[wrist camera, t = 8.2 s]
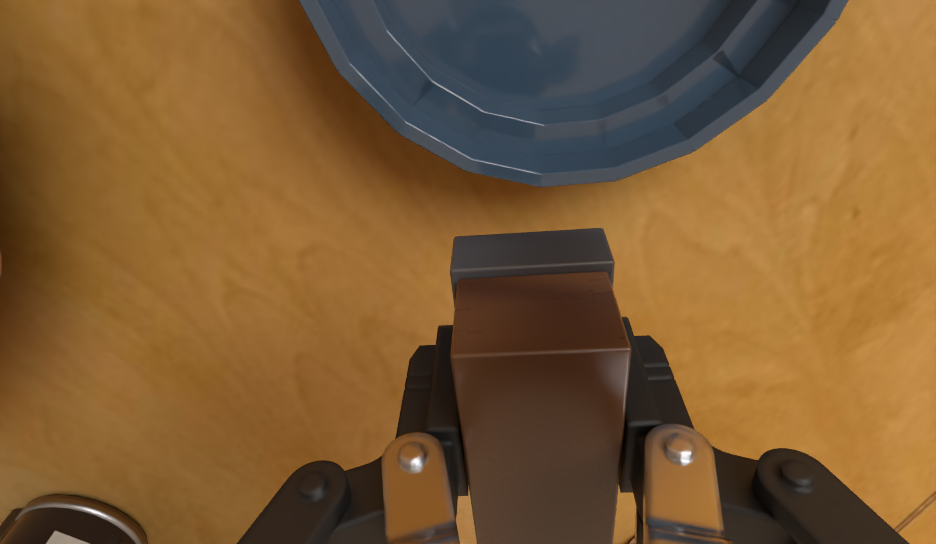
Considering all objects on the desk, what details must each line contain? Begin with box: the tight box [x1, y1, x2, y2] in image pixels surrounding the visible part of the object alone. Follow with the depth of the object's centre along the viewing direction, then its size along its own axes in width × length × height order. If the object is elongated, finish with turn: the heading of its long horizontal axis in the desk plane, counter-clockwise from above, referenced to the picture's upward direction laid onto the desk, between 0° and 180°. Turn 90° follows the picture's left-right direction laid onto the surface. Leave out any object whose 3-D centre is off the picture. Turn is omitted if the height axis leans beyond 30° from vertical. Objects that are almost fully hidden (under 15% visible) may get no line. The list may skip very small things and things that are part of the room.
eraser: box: [450, 228, 631, 544], centre depth 13 cm, size 4×7×4 cm, turn 5°
